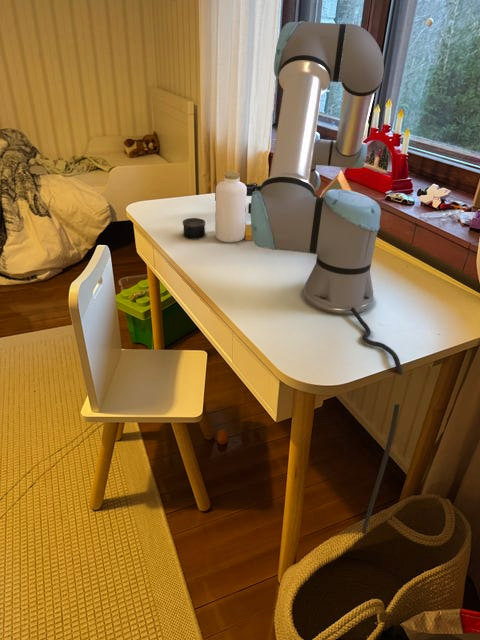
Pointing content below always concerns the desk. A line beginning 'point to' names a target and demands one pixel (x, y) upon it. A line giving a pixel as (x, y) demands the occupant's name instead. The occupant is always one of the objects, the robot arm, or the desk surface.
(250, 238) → the mustard block
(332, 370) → the desk surface
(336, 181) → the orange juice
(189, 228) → the dark tin
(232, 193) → the potion bottle
